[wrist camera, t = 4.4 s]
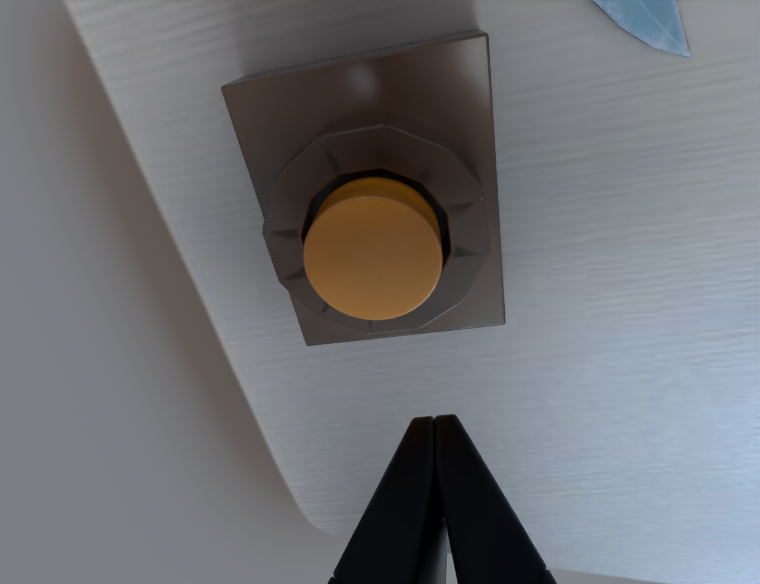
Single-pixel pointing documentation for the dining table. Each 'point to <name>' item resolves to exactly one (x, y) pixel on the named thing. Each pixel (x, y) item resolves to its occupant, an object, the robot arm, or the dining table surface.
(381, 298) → the amber button
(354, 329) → the walnut button block
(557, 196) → the dining table surface
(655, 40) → the knife
